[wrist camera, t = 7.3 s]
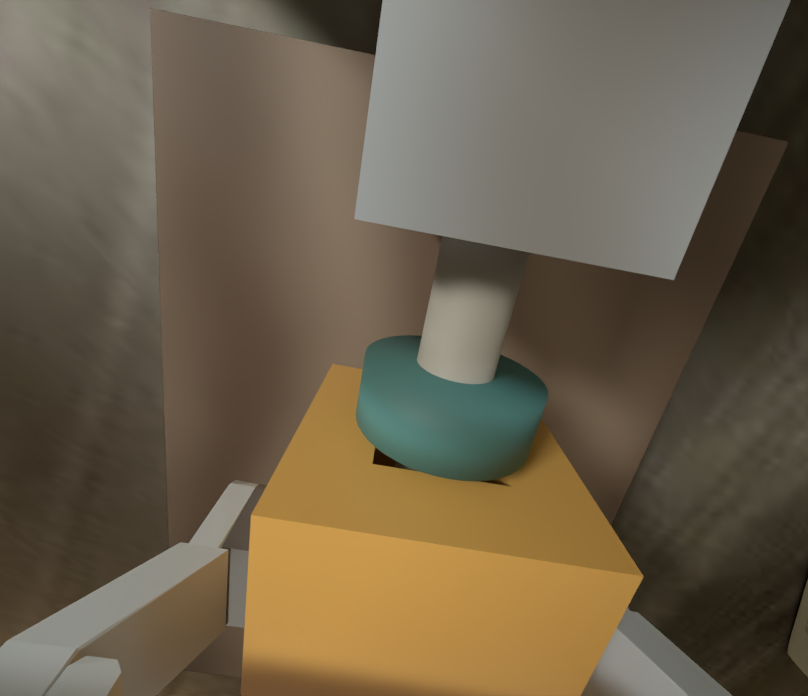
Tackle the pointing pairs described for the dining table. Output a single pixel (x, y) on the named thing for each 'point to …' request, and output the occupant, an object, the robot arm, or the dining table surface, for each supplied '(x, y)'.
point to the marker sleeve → (424, 571)
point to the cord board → (368, 277)
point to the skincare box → (800, 635)
